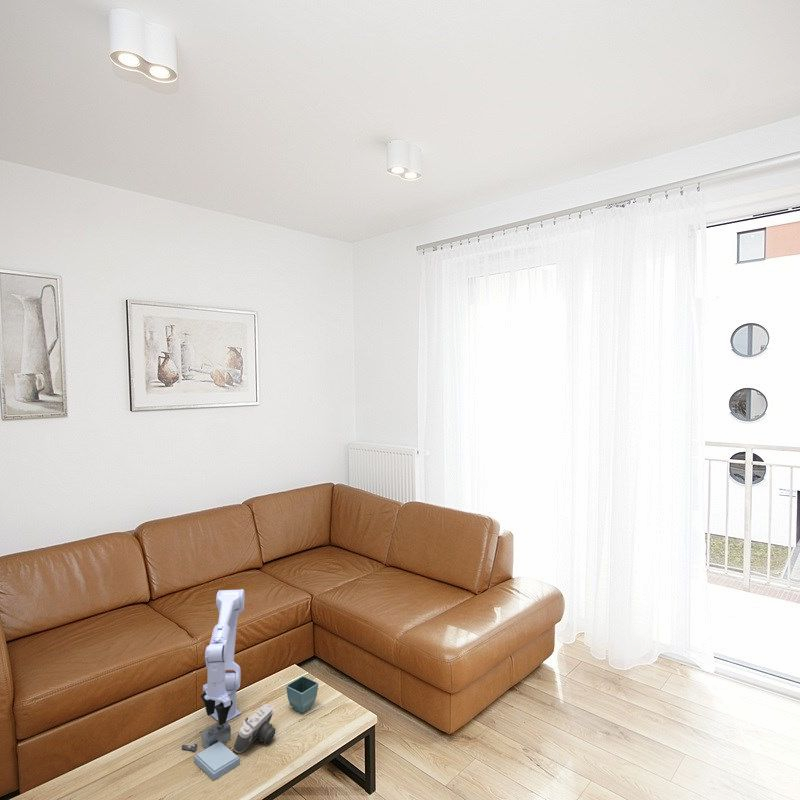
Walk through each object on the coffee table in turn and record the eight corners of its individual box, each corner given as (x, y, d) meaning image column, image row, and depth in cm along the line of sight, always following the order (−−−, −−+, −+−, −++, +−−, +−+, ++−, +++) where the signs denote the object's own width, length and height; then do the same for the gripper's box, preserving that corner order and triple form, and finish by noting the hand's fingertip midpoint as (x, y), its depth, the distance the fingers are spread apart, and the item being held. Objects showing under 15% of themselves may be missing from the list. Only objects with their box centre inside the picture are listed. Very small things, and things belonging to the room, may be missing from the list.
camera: (229, 747, 169) (238, 723, 166) (260, 717, 183) (269, 694, 181) (249, 766, 165) (259, 742, 163) (280, 733, 180) (289, 711, 178)
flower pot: (302, 697, 198) (302, 675, 198) (319, 706, 193) (319, 682, 193) (285, 709, 191) (285, 685, 191) (301, 718, 186) (301, 694, 185)
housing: (201, 746, 171) (201, 728, 171) (223, 734, 177) (223, 717, 177) (208, 752, 168) (208, 734, 168) (230, 739, 174) (230, 722, 174)
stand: (194, 761, 164) (194, 754, 164) (219, 747, 170) (219, 739, 170) (213, 780, 156) (213, 772, 156) (239, 764, 163) (239, 756, 163)
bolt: (180, 750, 169) (180, 744, 169) (184, 746, 171) (184, 740, 171) (194, 752, 168) (194, 746, 168) (197, 748, 170) (197, 742, 170)
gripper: (194, 676, 174) (194, 715, 174) (216, 692, 165) (216, 734, 165) (213, 667, 179) (213, 706, 180) (236, 683, 170) (236, 723, 170)
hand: (216, 718), depth 173 cm, fingers open, 7 cm apart
